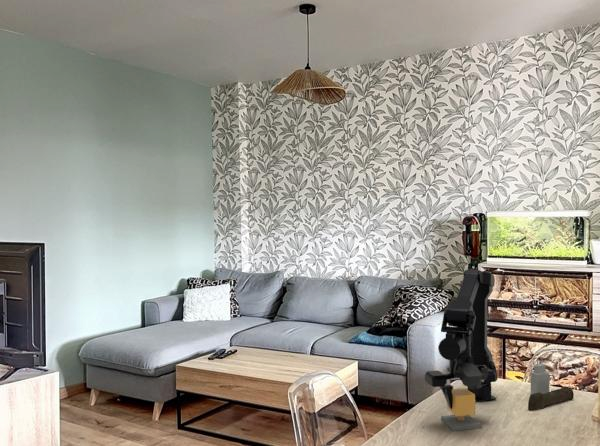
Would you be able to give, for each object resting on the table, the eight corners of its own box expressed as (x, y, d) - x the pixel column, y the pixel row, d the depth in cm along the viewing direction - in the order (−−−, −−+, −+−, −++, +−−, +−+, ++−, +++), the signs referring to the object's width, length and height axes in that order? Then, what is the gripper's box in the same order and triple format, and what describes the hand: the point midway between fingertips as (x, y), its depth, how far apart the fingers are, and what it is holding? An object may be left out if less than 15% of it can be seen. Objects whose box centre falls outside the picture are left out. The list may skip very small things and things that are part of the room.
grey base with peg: (441, 419, 158) (440, 402, 157) (467, 417, 159) (467, 399, 159) (453, 430, 150) (453, 412, 150) (481, 427, 151) (481, 409, 151)
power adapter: (529, 394, 177) (529, 356, 177) (543, 392, 179) (542, 354, 179) (537, 397, 174) (536, 359, 174) (550, 395, 176) (550, 357, 176)
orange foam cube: (447, 409, 157) (446, 389, 156) (465, 407, 158) (465, 388, 157) (456, 416, 151) (455, 396, 151) (475, 414, 152) (475, 394, 152)
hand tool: (562, 397, 174) (562, 382, 174) (574, 401, 171) (574, 386, 171) (520, 409, 165) (520, 393, 165) (532, 413, 162) (531, 397, 162)
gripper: (440, 361, 144) (441, 421, 145) (506, 356, 148) (507, 414, 148) (423, 350, 155) (424, 406, 156) (485, 346, 159) (486, 400, 159)
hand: (460, 407), depth 154 cm, fingers closed on orange foam cube, 6 cm apart
